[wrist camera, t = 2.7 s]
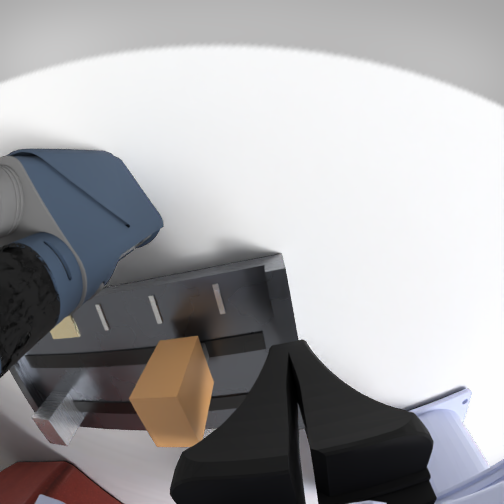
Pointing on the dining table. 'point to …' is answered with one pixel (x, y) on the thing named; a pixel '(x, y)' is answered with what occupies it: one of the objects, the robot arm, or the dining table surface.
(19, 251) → the vaping device
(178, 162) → the dining table surface
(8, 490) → the plant pot
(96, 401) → the mixer console
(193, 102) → the dining table surface
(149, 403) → the orange fader
